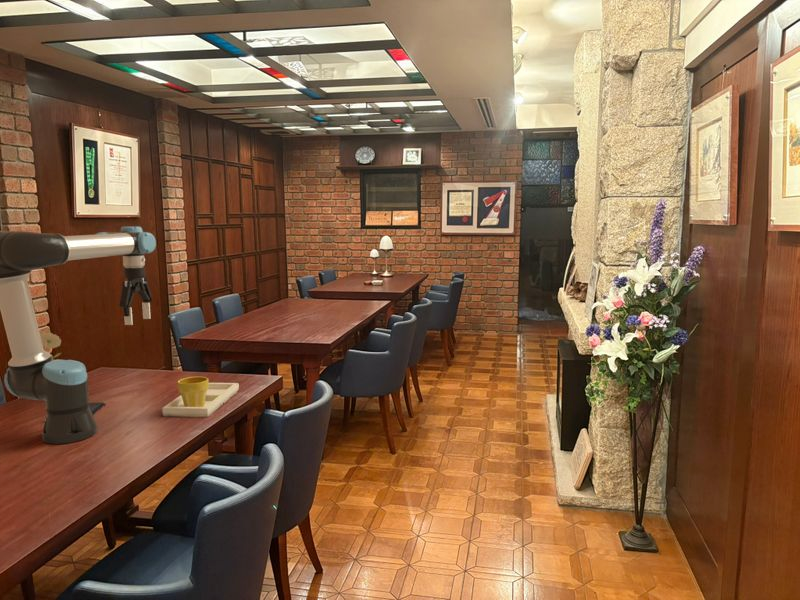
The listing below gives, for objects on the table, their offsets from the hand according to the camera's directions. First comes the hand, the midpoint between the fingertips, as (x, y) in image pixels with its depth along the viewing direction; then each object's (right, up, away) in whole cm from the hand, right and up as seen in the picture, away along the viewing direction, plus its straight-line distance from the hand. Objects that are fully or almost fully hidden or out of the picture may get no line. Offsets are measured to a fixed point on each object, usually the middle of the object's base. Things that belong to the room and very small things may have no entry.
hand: (138, 321), depth 221 cm
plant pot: (+28, -30, -16) cm, 44 cm away
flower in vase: (-32, -29, +1) cm, 43 cm away
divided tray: (+28, -30, -9) cm, 42 cm away
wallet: (-13, -32, -20) cm, 40 cm away
